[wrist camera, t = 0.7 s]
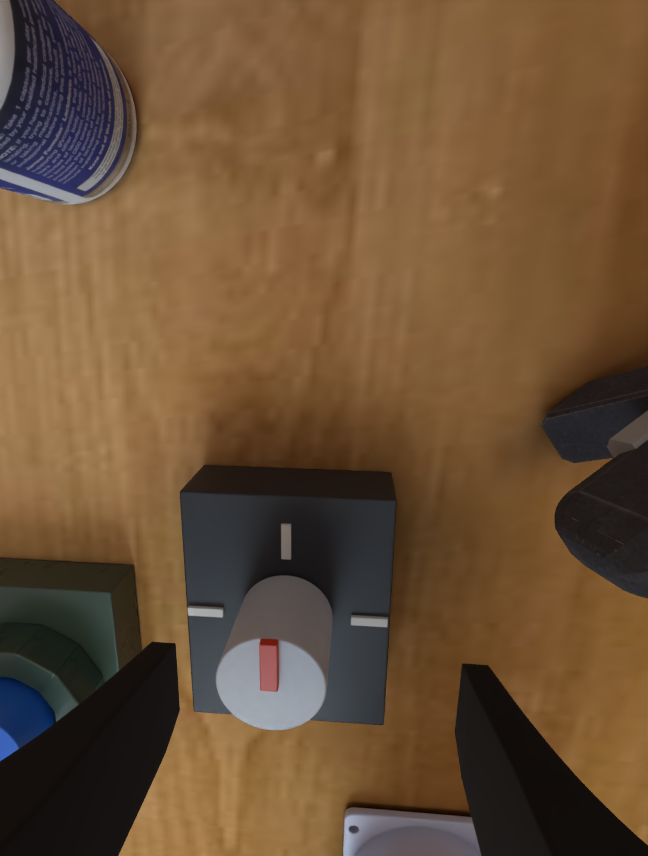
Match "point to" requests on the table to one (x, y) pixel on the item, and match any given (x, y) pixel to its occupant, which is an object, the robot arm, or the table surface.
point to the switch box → (66, 626)
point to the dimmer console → (293, 569)
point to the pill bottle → (60, 107)
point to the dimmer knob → (277, 654)
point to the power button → (21, 715)
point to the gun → (607, 477)
